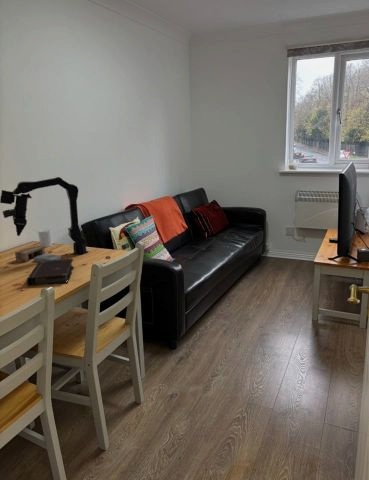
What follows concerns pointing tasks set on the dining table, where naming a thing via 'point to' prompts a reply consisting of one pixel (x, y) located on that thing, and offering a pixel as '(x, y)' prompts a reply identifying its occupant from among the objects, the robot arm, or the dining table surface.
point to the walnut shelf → (29, 253)
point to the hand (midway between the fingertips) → (17, 234)
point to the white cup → (45, 237)
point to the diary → (51, 272)
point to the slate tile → (47, 257)
